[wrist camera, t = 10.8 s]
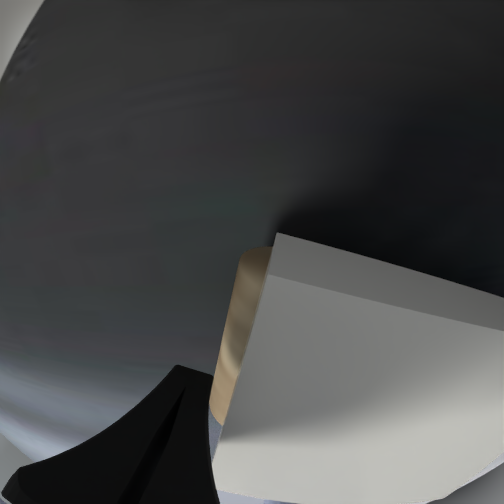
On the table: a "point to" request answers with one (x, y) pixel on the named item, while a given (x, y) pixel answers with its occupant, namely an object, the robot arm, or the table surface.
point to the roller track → (238, 326)
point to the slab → (362, 383)
